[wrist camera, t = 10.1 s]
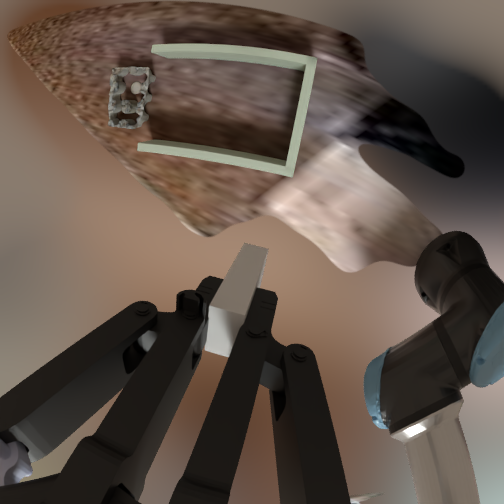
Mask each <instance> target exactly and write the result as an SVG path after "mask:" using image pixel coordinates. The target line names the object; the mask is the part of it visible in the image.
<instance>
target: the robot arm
mask: <svg viewBox="0 0 504 504" xmlns="http://www.w3.org/2000/svg"><path fill="white" fill-rule="evenodd" d="M267 254H268V249H267V248H263V247H259V246H255V245H251V244H247V243H244V245H243V246H242V248H241V250H240V252H239V254H238V255H237V257H236V259H235V261H234V262H233V264H232V266H231V268H230V269H229V271H228V273H227V275H226V277H225V278H224V279H220V278H216V277H212V276H209V277H207V278H205V279H203V280H202V282H201V283H200V285H199V286H198V288H197V289H196V290H184V291H181V292H179V293H178V294H177V301H176V311H175V312H158V311H157V308H156V306H155V305H154V304H152V303H150V302H148V301H138V302H135V303H133V304H131V305H130V306H128V307H127V308H125V309H124V310H122V311H121V312H119V313H118V314H116V315H115V316H113V317H112V318H110V319H109V320H108V321H106V322H105V323H103V324H102V325H100V326H99V327H97V328H96V329H95V330H93V331H92V332H90V333H89V334H88V335H86V336H85V337H83V338H82V339H80V340H79V341H77V342H76V343H75V344H73V345H72V346H70V347H69V348H68V349H66V350H65V351H64V352H62V353H61V354H59V355H58V356H56V357H55V358H53V359H52V360H51V361H49V362H48V363H47V364H45V365H44V366H42V367H41V368H40V369H39V370H37V371H35V372H34V373H33V374H32V375H30V376H29V377H27V378H26V379H25V380H23V381H22V382H20V383H19V384H18V385H16V386H15V387H14V388H12V389H11V390H10V391H8V392H7V393H6V394H4V395H3V396H2V397H1V398H0V504H141V503H139V502H138V500H139V498H140V496H141V493H142V491H143V488H144V483H145V478H146V475H147V473H148V471H149V469H150V467H151V464H152V462H153V460H154V458H155V456H156V454H157V452H158V449H159V447H160V445H161V443H162V441H163V439H164V436H165V434H166V432H167V430H168V428H169V426H170V424H171V422H172V419H173V417H174V415H175V413H176V411H177V409H178V406H179V404H180V402H181V400H182V398H183V396H184V394H185V391H186V389H187V387H188V385H189V383H190V381H191V379H192V376H193V375H194V372H195V370H196V368H197V366H198V364H199V362H200V360H201V356H202V349H203V347H204V345H205V350H206V351H209V352H212V353H216V354H219V355H223V356H226V357H229V358H228V361H227V364H226V366H225V369H224V371H223V374H222V377H221V379H220V382H219V384H218V388H217V390H216V393H215V395H214V397H213V400H212V403H211V405H210V408H209V410H208V413H207V416H206V418H205V421H204V423H203V426H202V429H201V431H200V434H199V436H198V439H197V441H196V444H195V447H194V449H193V451H192V454H191V456H190V459H189V461H188V464H187V467H186V469H185V472H184V474H183V476H182V477H181V479H180V480H179V481H178V483H177V485H176V488H175V490H174V492H173V494H172V497H171V499H170V502H169V504H228V500H229V496H230V490H231V486H232V483H233V479H234V476H235V473H236V469H237V466H238V462H239V459H240V455H241V451H242V448H243V444H244V440H245V437H246V433H247V429H248V425H249V422H250V418H251V414H252V410H253V406H254V402H255V398H256V394H257V390H258V386H259V384H261V385H263V386H265V387H267V388H268V389H269V394H270V404H271V413H272V424H273V433H274V444H275V454H276V464H277V474H278V485H279V494H280V504H351V502H350V497H349V493H348V488H347V483H346V479H345V474H344V470H343V466H342V461H341V457H340V452H339V448H338V444H337V440H336V436H335V431H334V427H333V423H332V419H331V415H330V411H329V407H328V404H327V400H326V395H325V392H324V388H323V384H322V380H321V376H320V373H319V369H318V365H317V361H316V358H315V355H314V353H313V351H312V350H311V349H310V348H308V347H306V346H304V345H301V344H291V345H288V346H287V347H286V346H284V345H282V344H280V343H279V342H277V341H276V340H275V339H274V338H273V336H272V334H271V328H272V323H273V318H274V314H275V310H276V305H277V300H278V298H277V295H276V293H275V292H273V291H269V290H265V289H261V288H260V285H261V280H262V275H263V272H264V267H265V263H266V258H267ZM415 286H416V289H417V291H418V293H419V295H420V297H421V299H422V300H423V301H424V302H425V303H426V305H428V306H429V307H430V308H432V309H433V310H435V311H436V312H437V313H439V314H440V315H441V316H440V317H438V318H437V319H436V320H434V321H433V322H431V323H429V324H428V325H427V326H425V327H424V328H422V329H421V330H419V331H418V332H416V333H415V334H413V335H412V336H410V337H409V338H407V339H405V340H404V341H402V342H400V343H399V344H397V345H395V346H393V347H390V348H388V349H387V350H386V351H385V352H384V353H383V354H381V355H380V356H378V357H376V358H375V359H373V360H372V361H371V362H370V363H369V365H368V366H367V369H366V372H365V375H364V396H365V401H366V406H367V409H368V412H369V414H370V415H371V416H372V421H373V422H374V424H375V425H376V426H377V427H379V428H382V429H388V428H389V431H390V435H391V437H392V438H395V439H397V440H400V441H402V442H403V443H404V446H405V449H406V453H407V457H408V461H409V465H410V468H411V473H412V477H413V481H414V486H415V490H416V495H417V500H418V504H480V501H479V495H478V489H477V484H476V479H475V475H474V470H473V466H472V462H471V458H470V455H469V451H468V447H467V444H466V440H465V437H464V433H463V430H462V427H461V424H460V421H459V416H458V414H459V412H460V409H461V407H462V404H463V402H464V400H463V397H462V395H461V392H460V390H461V389H462V388H463V387H465V386H467V385H468V384H470V383H471V382H472V384H474V385H475V386H477V387H486V386H488V385H489V384H494V383H495V382H497V381H498V380H499V379H501V378H502V377H503V376H504V282H503V281H502V280H501V279H500V278H499V277H498V276H497V275H496V274H495V272H494V271H492V269H491V268H490V267H489V264H488V261H487V259H486V257H485V254H484V251H483V249H482V247H481V246H480V244H479V243H478V242H477V241H476V240H475V239H474V238H473V237H472V236H471V235H469V234H467V233H465V232H461V231H452V232H448V233H445V234H443V235H441V236H439V237H438V238H436V239H435V240H434V241H432V242H431V243H430V244H429V245H428V246H427V248H426V249H425V250H424V252H423V253H422V255H421V257H420V258H419V261H418V263H417V266H416V270H415ZM122 388H123V390H122V392H121V393H120V395H119V396H118V398H117V399H116V401H115V402H114V404H113V405H112V407H111V409H110V410H109V412H108V413H107V415H106V416H105V418H104V420H103V421H102V423H101V424H100V426H99V428H98V429H97V431H96V432H95V433H94V434H93V435H92V436H88V437H85V438H83V439H82V440H81V441H80V442H79V444H78V445H77V447H76V448H75V450H74V452H73V453H72V455H71V456H70V458H69V459H68V461H67V463H66V464H65V466H64V468H63V469H62V471H61V473H58V474H54V475H50V476H47V477H43V478H39V479H34V480H30V481H25V482H21V483H19V482H20V480H21V479H22V478H23V477H25V476H30V475H31V474H32V471H33V470H32V467H31V463H32V462H35V461H37V460H39V459H41V458H43V457H44V456H46V455H48V454H49V453H50V452H52V451H53V450H54V449H55V448H56V447H58V446H59V445H60V444H61V443H62V442H63V441H64V440H65V439H67V438H68V437H69V436H70V435H71V434H72V433H73V432H75V431H76V430H77V429H78V428H79V427H80V426H81V425H83V424H84V423H85V422H86V421H87V420H88V419H89V418H90V417H91V416H93V415H94V414H95V413H96V412H97V411H98V410H99V409H100V408H102V407H103V406H104V405H105V404H106V403H107V402H108V401H109V400H110V399H112V398H113V397H114V396H115V395H116V394H117V393H118V392H119V391H120V390H121V389H122Z"/></svg>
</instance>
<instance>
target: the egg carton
mask: <svg viewBox="0 0 504 504" xmlns="http://www.w3.org/2000/svg"><path fill="white" fill-rule="evenodd" d="M128 72H129V73H130V74H132V75H137V76H139V75H142V74H143V73H146V74H147V79H146V81H145V82H144V83H142V85H141V83H140V82H135V83H133V84H132V86H131V92H132V93H133V94H138V93H139V92H141V93H142V94H145V95H144V96H143V99H144V100H143V99H142V100H141V102H139V103H138V102H137V101H135V100H122V101H121V100H120V94H122V93H123V92H124V91H125V90H126V84H125V83H124V82H122V81H123V77H124V76H125V75H127V74H128ZM155 77H156V76H154V75H152V74H151V70H150V69H149V67H126V68H113V70H112V73H111V78H110V86H111V90H110V93H109V95H110V99H109V105H108V111H109V119H110V120H109V122H108V125H109V126H112V127H121V128H128V129H136V127H141V125H142V123H143V122H144V121H148V117H149V115H148V114H146V113H145V111H144V106H145V104H146V103H147V102H149V101H151V99H152V95H150V94H149V93H148V91H147V90H148V85H149V84H150V83H151V82H154V81H155ZM121 110H122V112H123V113H125V114H128V113H135V112H136V113H137V114H139V115H140V116H139V117H138V118H137V123H136V122H135V121H134V120H133V119H126V120H125V119H122V120H121V121H120V120H119V119H118V118H117V112H120V111H121Z"/></svg>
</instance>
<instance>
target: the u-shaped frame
mask: <svg viewBox="0 0 504 504" xmlns="http://www.w3.org/2000/svg"><path fill="white" fill-rule="evenodd" d="M151 52H152V53H155V54H157V55H160V56H163V57H166V58H198V59H218V60H231V61H241V62H250V63H258V64H265V65H272V66H278V67H284V68H290V69H295V70H300V71H305V74H304V79H303V84H302V89H301V94H300V99H299V104H298V108H297V113H296V118H295V123H294V128H293V133H292V138H291V142H290V147H289V152H288V157H287V161H285V160H281V159H276V158H271V157H267V156H262V155H257V154H251V153H246V152H241V151H235V150H229V149H223V148H217V147H211V146H204V145H197V144H190V143H183V142H174V141H166V140H156V139H155V140H150V141H145V142H140V143H138V149H137V151H144V152H153V153H161V154H168V155H176V156H183V157H189V158H196V159H202V160H208V161H214V162H220V163H225V164H231V165H236V166H242V167H247V168H252V169H257V170H261V171H266V172H271V173H275V174H280V175H284V176H289V177H293V173H294V169H295V164H296V160H297V155H298V151H299V146H300V141H301V137H302V132H303V127H304V122H305V118H306V113H307V108H308V103H309V98H310V93H311V88H312V83H313V78H314V73H315V68H316V63H317V58H315V57H310V56H306V55H301V54H296V53H290V52H284V51H278V50H271V49H264V48H256V47H247V46H236V45H221V44H160V45H152V50H151Z"/></svg>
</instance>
